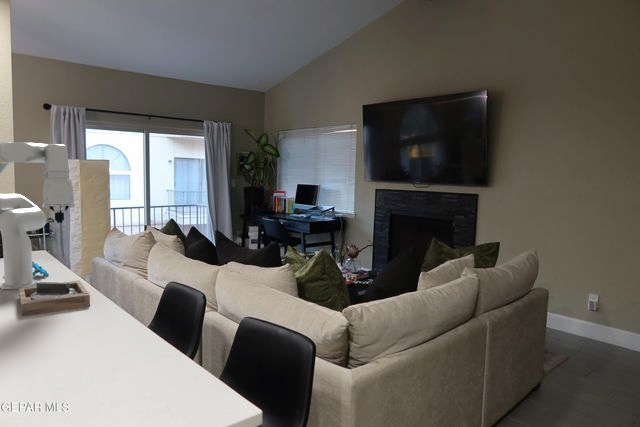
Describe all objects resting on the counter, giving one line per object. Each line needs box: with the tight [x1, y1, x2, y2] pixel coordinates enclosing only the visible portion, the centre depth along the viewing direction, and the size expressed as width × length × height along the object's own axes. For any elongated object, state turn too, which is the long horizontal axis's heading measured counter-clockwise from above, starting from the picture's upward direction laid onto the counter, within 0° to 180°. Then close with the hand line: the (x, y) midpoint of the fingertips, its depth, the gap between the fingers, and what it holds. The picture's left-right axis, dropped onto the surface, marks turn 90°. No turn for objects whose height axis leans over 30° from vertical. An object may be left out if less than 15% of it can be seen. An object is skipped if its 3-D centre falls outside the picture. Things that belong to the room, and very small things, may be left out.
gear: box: [32, 260, 50, 278], centre depth 195 cm, size 11×6×10 cm
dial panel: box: [18, 280, 91, 317], centre depth 159 cm, size 24×20×4 cm
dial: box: [30, 281, 76, 300], centre depth 159 cm, size 14×14×5 cm
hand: (59, 222), depth 173 cm, fingers closed
